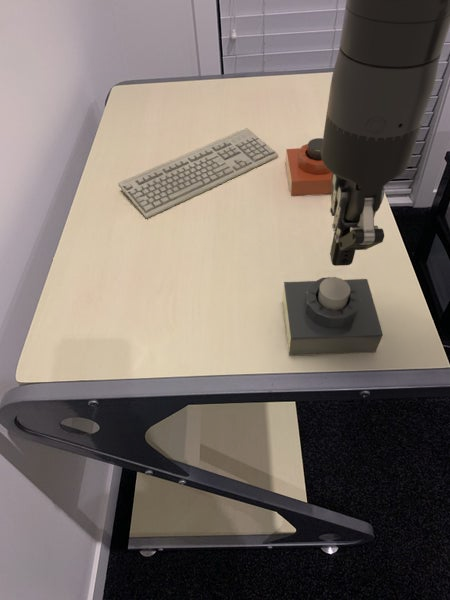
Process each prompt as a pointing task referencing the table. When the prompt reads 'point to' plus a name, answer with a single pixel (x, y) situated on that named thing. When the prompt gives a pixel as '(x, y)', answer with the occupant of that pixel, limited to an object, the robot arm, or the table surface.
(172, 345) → the table surface
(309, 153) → the black button cap
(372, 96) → the robot arm
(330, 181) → the button base
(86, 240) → the table surface
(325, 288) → the grey cylindrical knob
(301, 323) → the push button box
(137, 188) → the keyboard
